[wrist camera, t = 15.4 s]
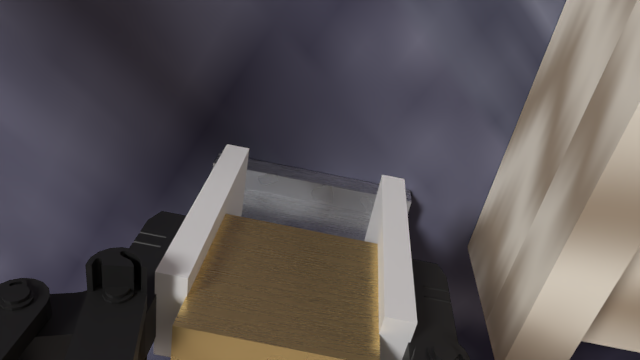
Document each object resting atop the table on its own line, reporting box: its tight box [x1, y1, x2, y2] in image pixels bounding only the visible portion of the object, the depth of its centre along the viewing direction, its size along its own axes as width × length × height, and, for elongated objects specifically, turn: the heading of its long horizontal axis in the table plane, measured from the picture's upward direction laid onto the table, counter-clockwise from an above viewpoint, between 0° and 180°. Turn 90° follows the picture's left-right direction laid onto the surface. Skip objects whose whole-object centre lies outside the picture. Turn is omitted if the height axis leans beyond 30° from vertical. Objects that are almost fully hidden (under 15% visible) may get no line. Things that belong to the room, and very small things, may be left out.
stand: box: [213, 153, 411, 241], centre depth 24 cm, size 10×9×6 cm
